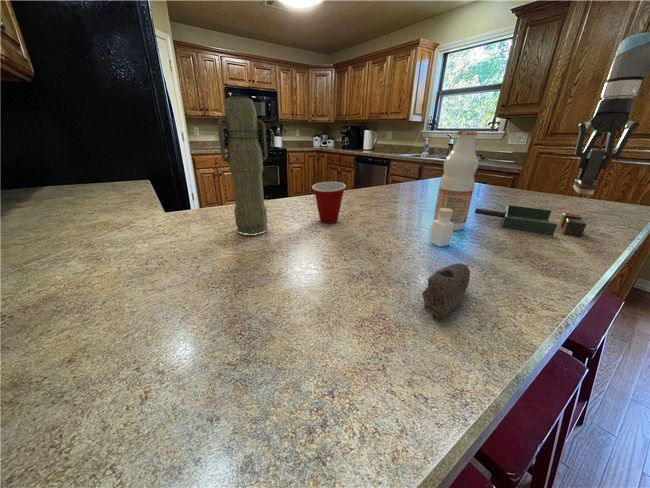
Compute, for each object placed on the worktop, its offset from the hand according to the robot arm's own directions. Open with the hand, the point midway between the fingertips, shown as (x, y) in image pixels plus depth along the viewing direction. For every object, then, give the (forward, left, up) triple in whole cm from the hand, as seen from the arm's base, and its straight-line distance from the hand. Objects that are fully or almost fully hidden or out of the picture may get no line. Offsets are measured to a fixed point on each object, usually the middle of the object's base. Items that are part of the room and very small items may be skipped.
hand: (587, 178), depth 89 cm
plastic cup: (+68, +52, -14) cm, 87 cm away
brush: (0, 0, -4) cm, 4 cm away
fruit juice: (+34, +34, -14) cm, 50 cm away
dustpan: (+18, +16, -14) cm, 28 cm away
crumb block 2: (+2, +19, -14) cm, 24 cm away
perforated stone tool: (+26, +78, -14) cm, 83 cm away
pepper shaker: (+33, +51, -14) cm, 62 cm away
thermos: (+81, +73, -14) cm, 110 cm away
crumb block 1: (+2, +12, -14) cm, 19 cm away
